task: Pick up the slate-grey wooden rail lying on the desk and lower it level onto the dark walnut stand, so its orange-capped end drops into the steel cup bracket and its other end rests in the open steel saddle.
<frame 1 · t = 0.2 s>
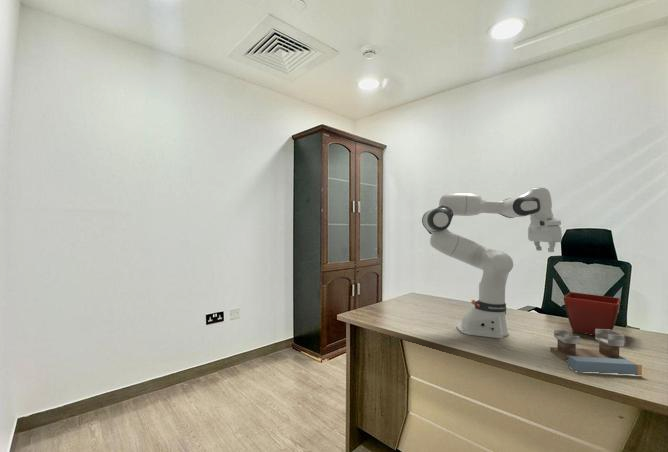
hand: (544, 251, 138), 39 cm above the table, fingers open, 8 cm apart
rail: (604, 371, 101), on the table
stand: (587, 357, 112), on the table
plant pot: (591, 332, 141), on the table
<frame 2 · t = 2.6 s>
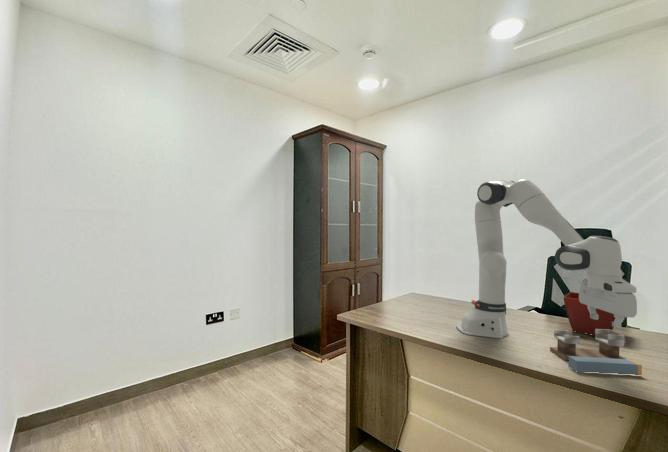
hand: (604, 323, 101), 17 cm above the table, fingers open, 8 cm apart
nothing on the table moved.
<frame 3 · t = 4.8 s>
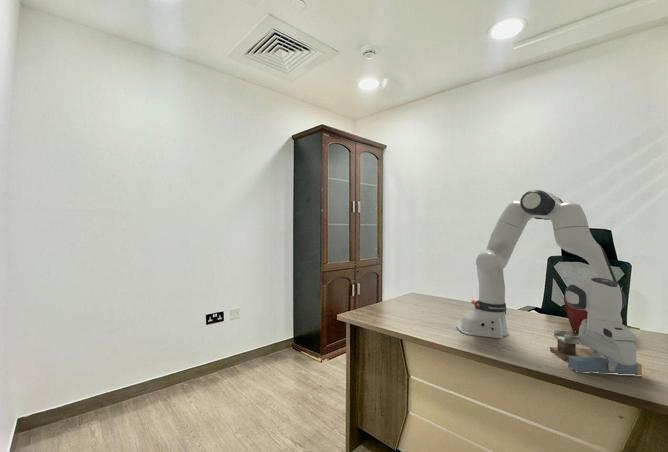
hand: (604, 366, 101), 2 cm above the table, fingers closed on rail, 4 cm apart
rail: (604, 371, 101), on the table, touching gripper
everything else where it was.
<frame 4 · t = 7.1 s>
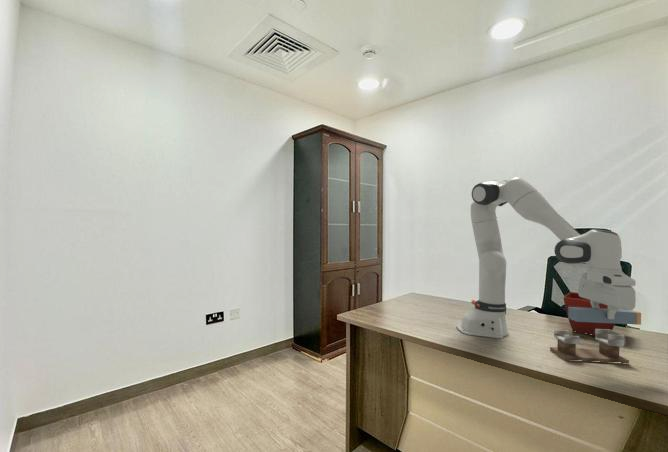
hand: (603, 316, 101), 19 cm above the table, fingers closed on rail, 4 cm apart
rail: (603, 321, 101), point 17 cm above the table, touching gripper
everything else where it was.
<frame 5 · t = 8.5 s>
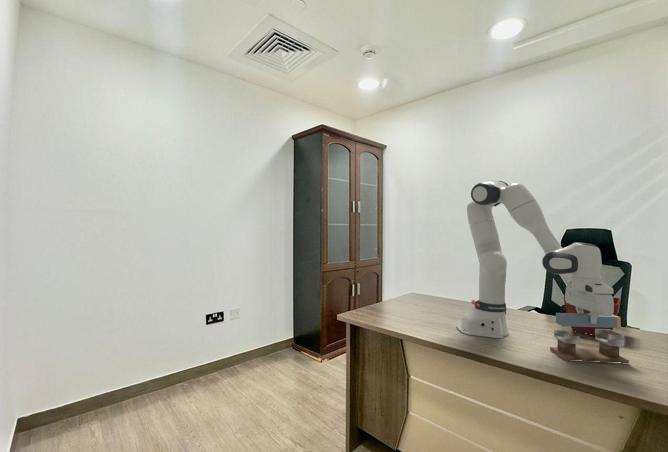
hand: (587, 320, 112), 14 cm above the table, fingers closed on rail, 4 cm apart
rail: (587, 325, 112), point 12 cm above the table, touching gripper
everything else where it was.
when the fingers open (10 cm above the table, at t = 9.6 s): rail drops 1 cm, resting on stand.
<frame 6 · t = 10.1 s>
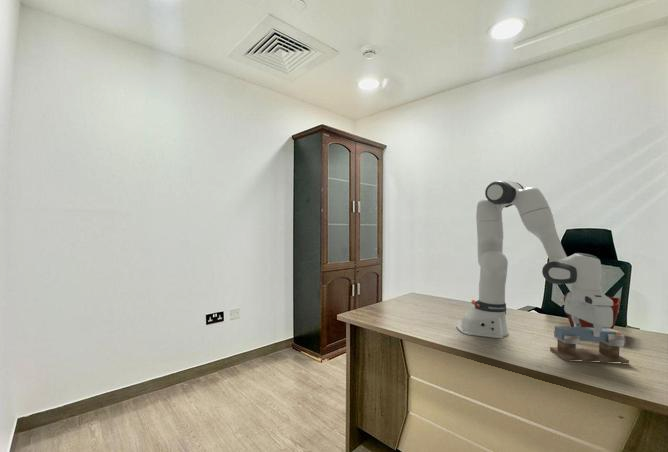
hand: (586, 331, 113), 10 cm above the table, fingers open, 8 cm apart
rail: (586, 339, 113), point 7 cm above the table, touching stand
everything else where it was.
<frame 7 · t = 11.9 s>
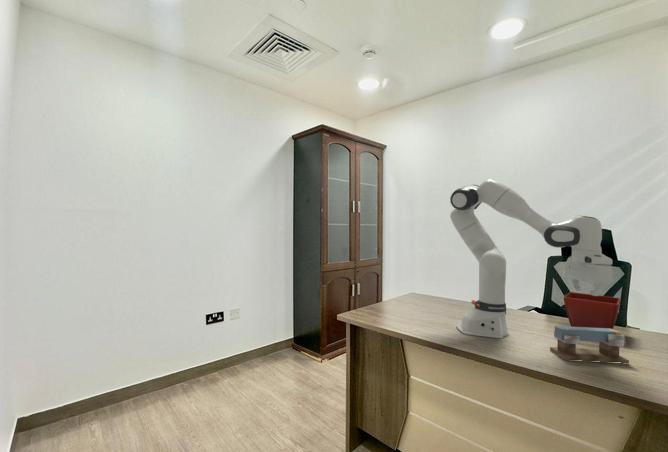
hand: (585, 292, 114), 24 cm above the table, fingers open, 8 cm apart
nothing on the table moved.
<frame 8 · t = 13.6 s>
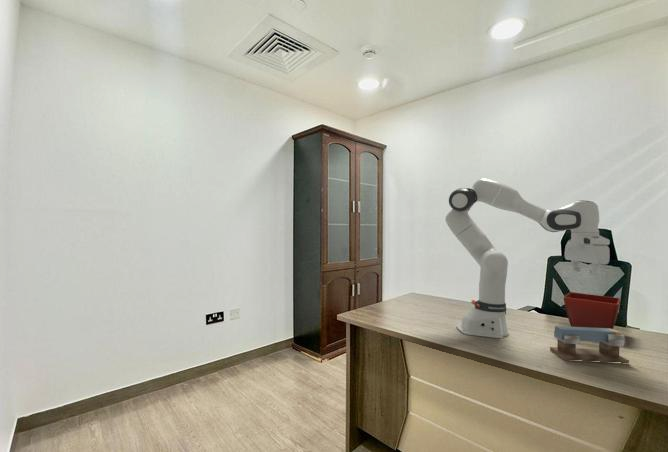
hand: (584, 273, 121), 31 cm above the table, fingers open, 8 cm apart
nothing on the table moved.
at the end: rail 0.8 cm from the target spot on the stand, point 6.8 cm above the stand's base; rail tilted 0°; the gripper is holding nothing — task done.
